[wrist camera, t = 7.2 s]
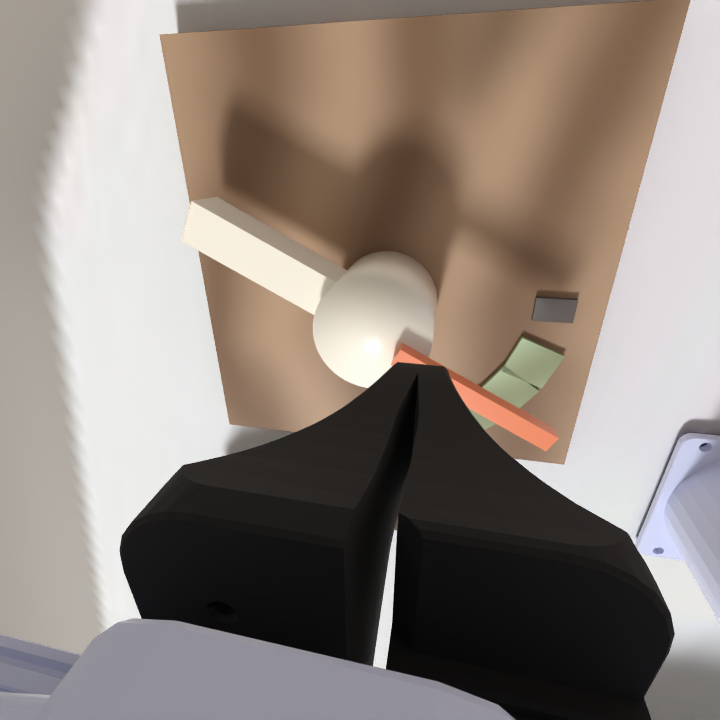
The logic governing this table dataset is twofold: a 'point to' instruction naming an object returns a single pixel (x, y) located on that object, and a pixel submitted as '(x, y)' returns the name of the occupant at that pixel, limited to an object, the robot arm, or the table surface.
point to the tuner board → (429, 186)
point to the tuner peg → (349, 305)
